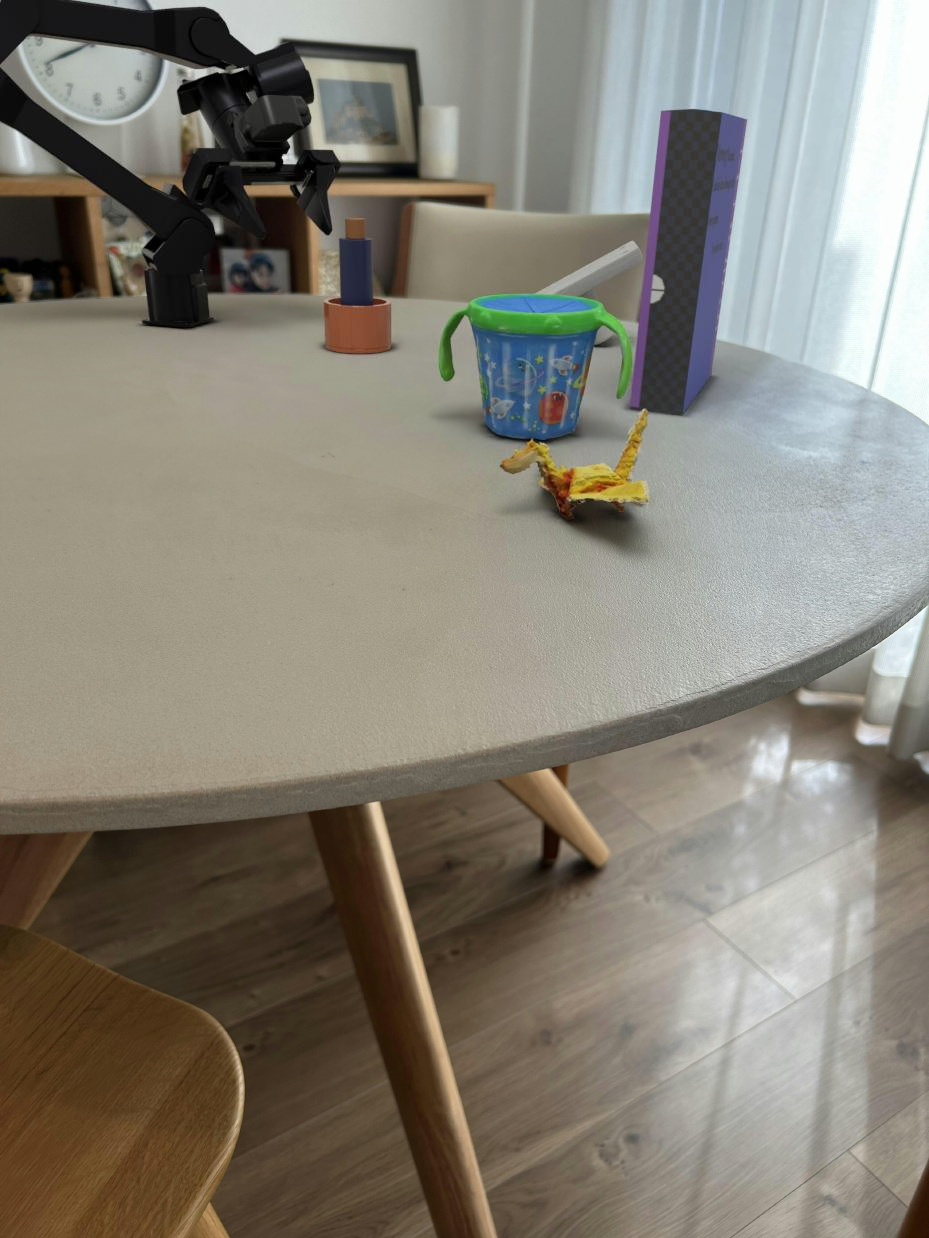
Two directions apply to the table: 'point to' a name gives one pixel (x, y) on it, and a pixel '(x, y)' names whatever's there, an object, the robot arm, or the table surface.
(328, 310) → the terracotta round pot
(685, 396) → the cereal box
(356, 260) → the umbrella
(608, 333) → the door handle
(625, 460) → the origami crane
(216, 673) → the table surface
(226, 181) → the robot arm
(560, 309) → the snack cup
